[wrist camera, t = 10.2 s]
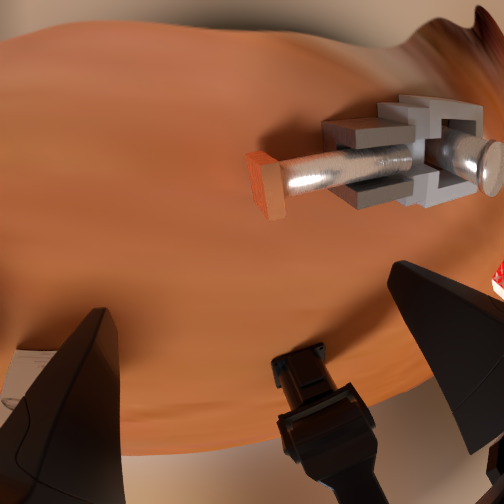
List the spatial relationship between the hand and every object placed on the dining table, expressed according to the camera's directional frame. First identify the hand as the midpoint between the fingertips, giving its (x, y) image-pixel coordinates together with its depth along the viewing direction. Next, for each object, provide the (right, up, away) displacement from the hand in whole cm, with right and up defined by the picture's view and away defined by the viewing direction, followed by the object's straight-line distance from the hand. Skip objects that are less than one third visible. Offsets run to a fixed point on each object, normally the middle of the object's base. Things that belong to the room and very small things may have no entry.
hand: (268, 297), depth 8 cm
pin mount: (+7, +9, +11) cm, 16 cm away
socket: (+15, +11, +12) cm, 23 cm away
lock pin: (+5, +7, +10) cm, 13 cm away
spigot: (+16, +11, +13) cm, 24 cm away
